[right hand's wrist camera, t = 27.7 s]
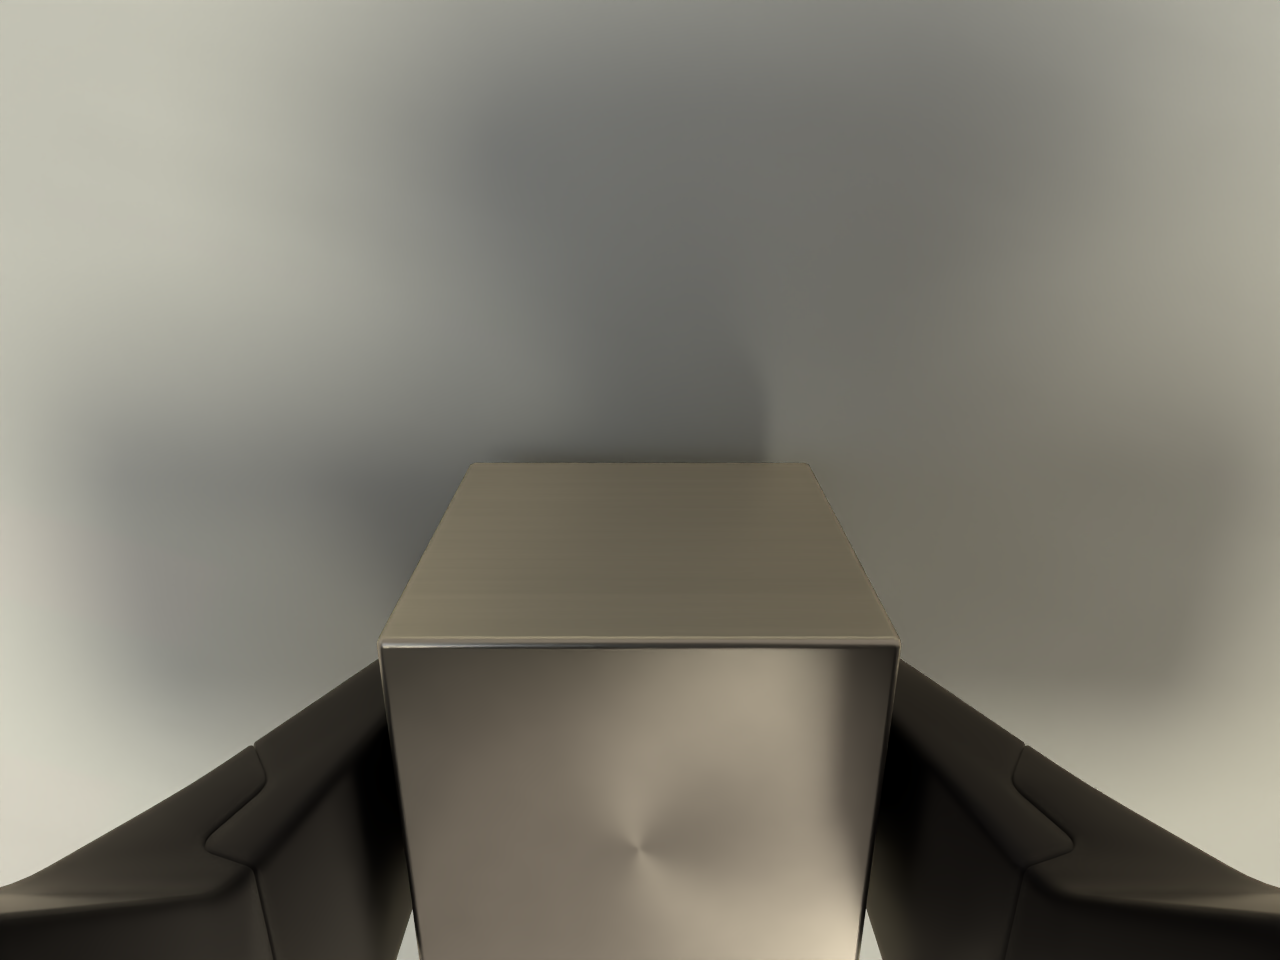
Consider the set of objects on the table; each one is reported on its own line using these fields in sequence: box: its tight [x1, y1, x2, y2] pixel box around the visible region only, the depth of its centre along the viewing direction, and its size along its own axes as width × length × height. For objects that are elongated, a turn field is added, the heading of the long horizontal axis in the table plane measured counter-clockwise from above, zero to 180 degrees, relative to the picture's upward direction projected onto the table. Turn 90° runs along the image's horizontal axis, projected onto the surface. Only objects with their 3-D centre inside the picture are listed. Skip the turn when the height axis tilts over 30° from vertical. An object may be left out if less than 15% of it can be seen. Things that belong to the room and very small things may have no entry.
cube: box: [377, 463, 901, 960], centre depth 10 cm, size 5×5×4 cm
